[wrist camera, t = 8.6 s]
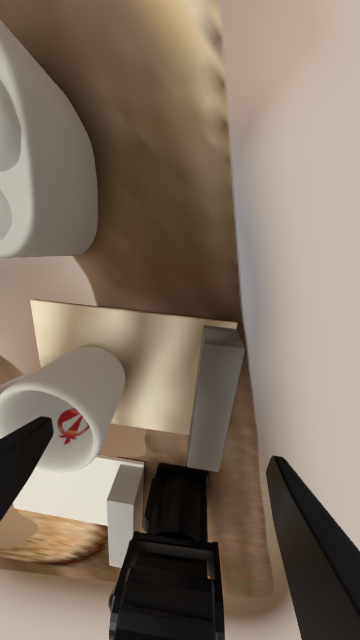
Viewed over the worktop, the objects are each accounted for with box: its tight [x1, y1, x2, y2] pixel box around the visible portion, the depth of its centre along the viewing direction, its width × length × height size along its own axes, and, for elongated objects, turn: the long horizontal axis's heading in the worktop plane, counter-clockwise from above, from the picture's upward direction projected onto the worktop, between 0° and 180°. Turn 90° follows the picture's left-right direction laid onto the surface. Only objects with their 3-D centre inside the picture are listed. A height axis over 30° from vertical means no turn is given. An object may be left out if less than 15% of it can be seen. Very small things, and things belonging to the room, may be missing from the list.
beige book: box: [30, 299, 245, 472], centre depth 20 cm, size 20×14×4 cm
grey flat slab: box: [13, 454, 144, 568], centre depth 27 cm, size 20×14×4 cm
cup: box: [0, 346, 125, 473], centre depth 18 cm, size 11×8×8 cm
